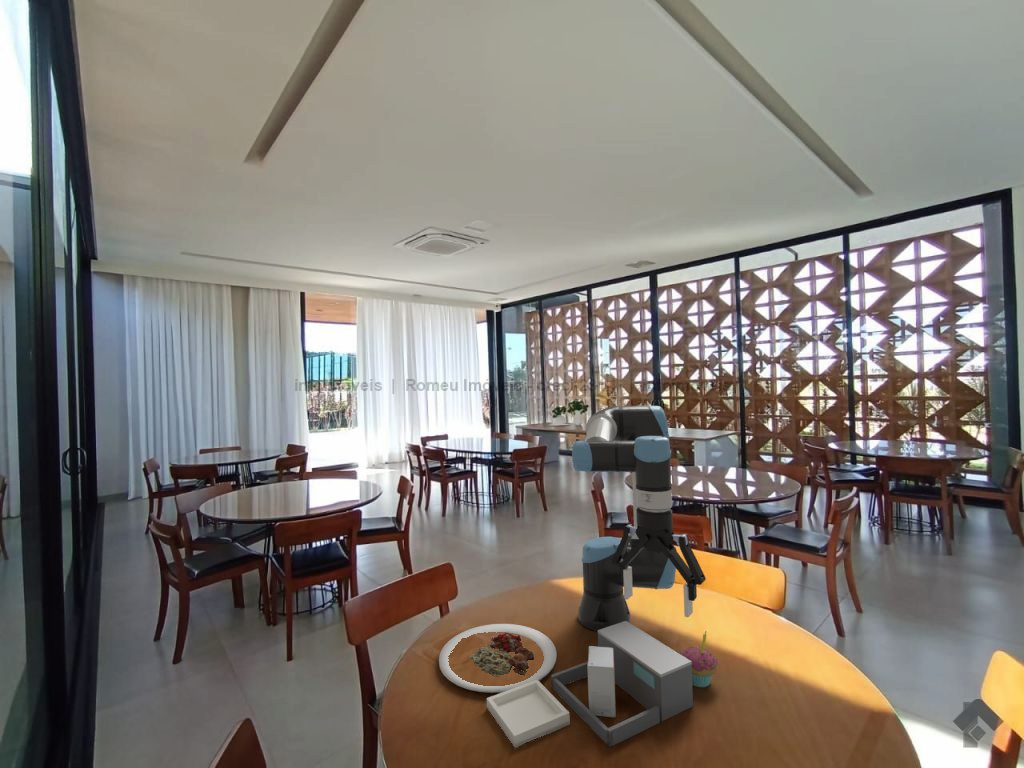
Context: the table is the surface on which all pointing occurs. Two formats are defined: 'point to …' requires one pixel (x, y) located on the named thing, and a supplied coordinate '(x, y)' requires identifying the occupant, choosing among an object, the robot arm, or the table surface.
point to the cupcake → (701, 664)
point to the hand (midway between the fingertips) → (657, 605)
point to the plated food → (501, 655)
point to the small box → (601, 681)
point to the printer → (635, 681)
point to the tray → (527, 712)
